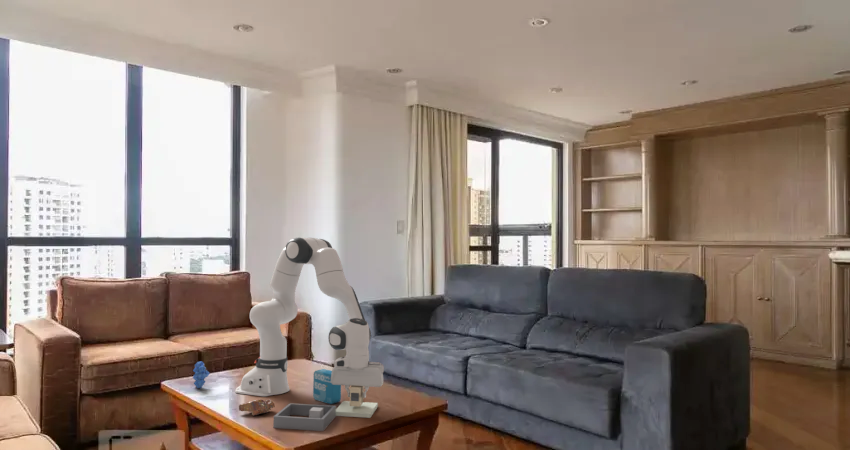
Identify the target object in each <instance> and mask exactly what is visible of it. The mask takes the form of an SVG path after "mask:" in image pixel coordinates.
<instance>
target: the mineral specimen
mask: <svg viewBox="0 0 850 450" xmlns="http://www.w3.org/2000/svg"><path fill="white" fill-rule="evenodd" d="M273 408H275V402H274V401H273V400H272V399H265V400H263V399H253V400H251V401H247V402H245V403H241V404H238V411H240V412H249V413H250V412H251V416H255V417H256V416H258V415H261V414H267V413H268V412H270V411H271V409H273Z"/></svg>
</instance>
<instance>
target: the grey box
mask: <svg viewBox="0 0 850 450" xmlns="http://www.w3.org/2000/svg"><path fill="white" fill-rule="evenodd" d="M322 417H323V408H319V407H313V408H311V409H310V410H309V416H308V418H322Z"/></svg>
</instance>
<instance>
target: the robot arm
mask: <svg viewBox="0 0 850 450" xmlns="http://www.w3.org/2000/svg"><path fill="white" fill-rule="evenodd" d="M304 265H312V266H313V267H314V270H315V276H316V281H317V285H318V288H319V290H320V292H322V293H323V294H324V295H325V296H327V297H330V298H333V299H335V300H338V301H340V302H341V303H342V304H343V305H344V307H345V310H346V313H347V315H348V318H349V320H348V321H347V322H346V321H345V323H343V324H339V325H336V326H333V327H332V328H331V329H329V332H328V343H329V345H330V346H331V348H332V349H333V350H338V351H343V350H345V351H346V353H345V354H346V355H344V356H341V357H338V358H337V359H335V360H334V362H333V366H334V367H333V368H332V369H331V371H332V373H331V383H332V384H333V385H341V386H344V389H345V390H346V393H347V398H350V387H351V386H364V392H362V393H361V395H362V396H361V398H363V399H366V397H367V392H368V390H369V389H370V387H371V388H372V387H374V388H381V387H382V385H383V384H384V375H383V373H384V371H385V367H384V365H383V364H382V363H381V362H378V361H377V362H375V361H370V351H369V346H370V341H371V337H372V332H371V329H370V326H369V323H368V322H367V320H366V318H365V316H364V314H363V313H364V312H363V311H362V308H361V305H360V302H359V300H358V297H357V294H356V292H355V289H354V288H353V287H352V286H351V285H350V284H349V282H348V280H347V278H346V276H345V273H344V268H343V265H342V261H341V259H340V256H339V253H338V251H337V250H336V249H335V248H333V247H332V244H331V243H330V242H329V241H328V240H326V239H324V238H316V237H295V238H291V239H289V240H288V242H286V245H285V247H284V248H283V249H282V250H281V252H280V254H279V257H277V260H276V262H275V266H274V269H273V272H272V276H271V279H270V282H269V286H270V288H271V290H272V298H271V300H266V301H261V302H259V303H257V304H255V305H254V306H252V308H251V309H250V311H249V320H250V321H249V322H250V323H251V324H252V325H253V326H254V327H255V328H256V330H257V334H258V337H259V357H258V358H257V359H255V360H254V364H255V366H254V367H253V368H252V369H250V370H249V371H248V372H246V373H245V374H244V375H243V377H242V379H241V382H240V385H239V386H237V387H236V388H235V390H234V393H235V394H241V395H249V396H250V395H251V396H256V397H257V396H258V397H269V396H273V395H275V396H276V395H281V394H284V393H287V392H289V391H290V390H291V389H290V387H289V381H288V375H287V373H288V372H287V371H288V356H287V346H288V345H287V343H288V342H287V341H288V340H287V338H286V337H285V336H284V335H283V333H282V330H281V325H284V324H288V323H290V322H291V321H293V320H294V319H296V317H297V316H298V312H299V311H298V306H297V303H296V302H295V297H296V296H295V295H296V289H297V285H298V284H299V283H298V282H299V280H300V276H301V273H302V269H303V267H304Z"/></svg>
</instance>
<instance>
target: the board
mask: <svg viewBox="0 0 850 450" xmlns="http://www.w3.org/2000/svg"><path fill="white" fill-rule="evenodd" d="M378 406H379V403H378V402H369V401H365V402H364V401H363V403H362V404H361V406H350V400H343V401H342V402H341V403H340V404H339V405H338V407H336V417H350V418H353V417H354V418H368V419H370V418H371V417H372V416H373V415H374V413H375V411H376V410H377V408H378Z"/></svg>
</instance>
